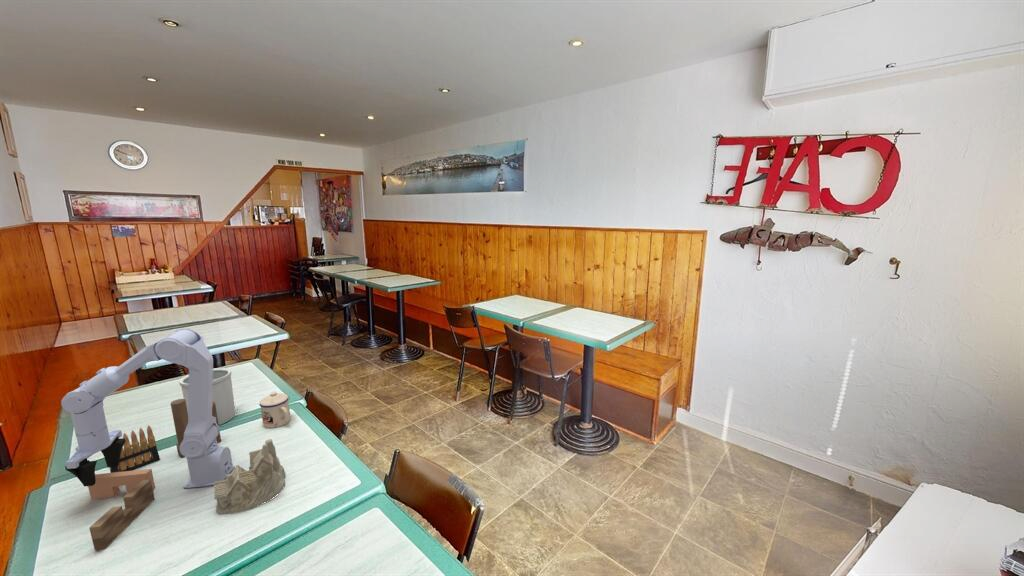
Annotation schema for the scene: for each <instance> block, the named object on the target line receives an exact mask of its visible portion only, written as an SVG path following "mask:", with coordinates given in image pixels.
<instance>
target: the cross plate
mask: <svg viewBox="0 0 1024 576" xmlns="http://www.w3.org/2000/svg"><path fill="white" fill-rule="evenodd" d="M95 479H96V482H95V484H94V485H93V486H87V488H88V489H87V490H88V492H89V497H90V499H91V500H96V499H104V498H114V497H116V496H117V495H118V494H119V493H121V489H120V487H124V486H125V490H126V494H127V493H129V492H130V491H131V490H132V489H133V488H134V487H135V486H136V485H138V484H139V483H140V482H141V481H142V480H150V479H151V483H152V488H153V491H154V490H155V489H156V484H155V480H154V474H153V470H152V468H147V469H136V470H133V471H124V472H114V473H110V472H106V473H95Z"/></svg>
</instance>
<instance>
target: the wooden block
mask: <svg viewBox="0 0 1024 576" xmlns="http://www.w3.org/2000/svg"><path fill="white" fill-rule="evenodd" d="M170 408H171V414H172V418H173V425H174V428H175V435H176V436H175V437H176V439H177V443H176V450H177V454H178V455H179V456H180V457H181V458H185V456H183V455H182V454H181V452H180V450H179V447H180V444H181V443H182V441H183V439H184V432H185V430H186V427H187V425H188V411H187V406H186V400H185V399H184V398H179V399H175V400H173V401H171V402H170ZM212 416H213V417H216V423H217V425H218V426H219V427H220V425H219V424H218V417H217V411H216V405H215V403H214V402H213V401H212ZM216 441H217V443H218V444H219V443H221V442H222V438H221V432H219V435H218V436H217V437H216Z"/></svg>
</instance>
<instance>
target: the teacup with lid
mask: <svg viewBox="0 0 1024 576" xmlns="http://www.w3.org/2000/svg"><path fill="white" fill-rule="evenodd" d="M289 400H290V398H289V396H288V394H286V393H279V392H276V391H272V392H270V393H269V395H267V396H265V397H263V398H262V399H261V400H259V406H260V410H261V411H260V412H261V419H262V425H263V427H264V428H268V429H274V428H278V427H279V428H280V427H282V426H285V425H286V424H288V423H289V422H290V420H291V411H290V404H289Z"/></svg>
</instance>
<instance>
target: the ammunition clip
mask: <svg viewBox="0 0 1024 576" xmlns="http://www.w3.org/2000/svg"><path fill="white" fill-rule="evenodd" d="M130 433H131V434H130V438H131V442H130V440H129V439H130V438H129V436H128V434H127V433H126V432H124V433H122V438H125V441H126V442H125V443H124V450H123V448H122V450H121V454H120V460H119V466H117V467H111V468H109V473H114V472H124V471H134V470H139V469H141V468H144V467H146V466H149V465H151V464H154V463H156V462H159V461H160V460H161V458H160V457H161V456H160V454H159V450H158V448H157V443H156V438H155V436H154V433H153V428H152V427H151V425H148V424H147V428H146V433H145V431H144V429H143V428H142V427H140V428H139V431H138V436H139V440H138V437H137V434H136V432H135V430H133V429H132V430H131V432H130ZM145 434H146V435H147V438H146V435H145ZM130 443H132V446H131V444H130ZM140 447H141V449H140ZM124 452H125V453H124Z"/></svg>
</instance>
